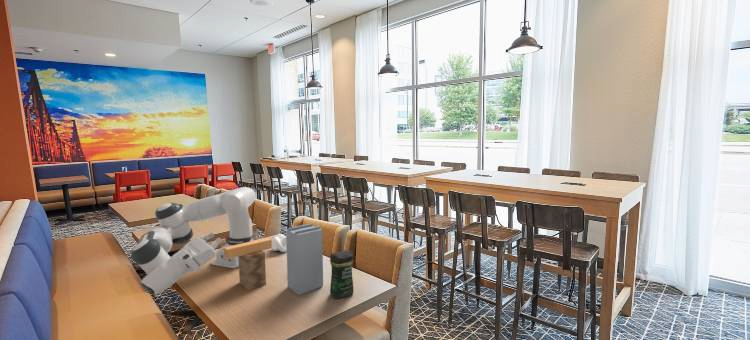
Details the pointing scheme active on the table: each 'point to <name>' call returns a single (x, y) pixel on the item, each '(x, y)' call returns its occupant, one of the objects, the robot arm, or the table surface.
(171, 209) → the robot arm
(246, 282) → the brown piece
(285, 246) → the crumpled paper ball
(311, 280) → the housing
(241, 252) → the tan wooden bar
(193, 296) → the table surface
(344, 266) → the coffee jar
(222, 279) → the table surface
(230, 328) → the table surface
